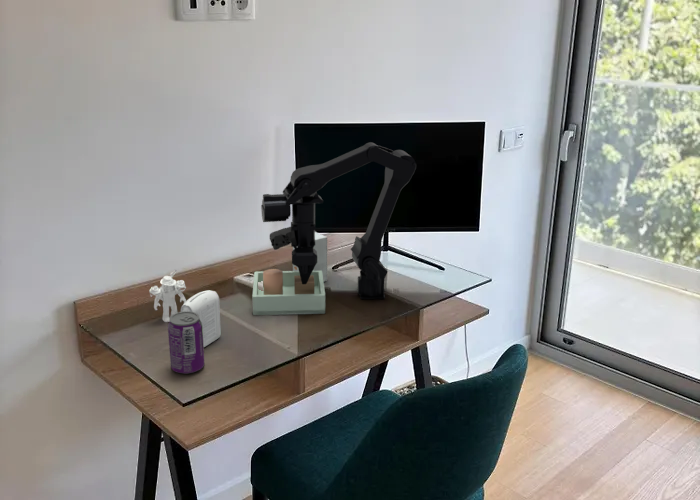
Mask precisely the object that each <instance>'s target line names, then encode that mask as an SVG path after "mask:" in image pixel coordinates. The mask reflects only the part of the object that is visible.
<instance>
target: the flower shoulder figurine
mask: <svg viewBox="0 0 700 500" xmlns="http://www.w3.org/2000/svg"><path fill="white" fill-rule="evenodd" d="M169 273H170V274H169V275H164V276H163V277H162V278H161V279H160V282H159V283H160V284H161V285H160V286H159V287H158V285H155V284H154V286H151V288H150V289H149V295H150V296H149V297H150V298H152V297H153V296H155V297H154V302H153V303H154V304H153V308H154V311H158V310H159V309H158V306H159V307H161V304H160V302H159V301H160V300H161V301H162V309H163V311H162V312H163V313H162V321H163V322H165V323H168V322H170V317H171V316H172V315H173V314H175V313H178V312H179V311H178V306H177V303H176V295H178V297H180V298H179V303H182V302H183V304H184V303H185V302H186V301H187V299H186V297H185V295H184V294H183V292H184V291H185V290H186V289H187V286H186V283H185V281H184V280H183V279H180V280H179V279H178V280H176V279H174V278H173V277H175V276H174V275H176V273H177V269H174V271H172V272H169ZM170 309H171V312H170Z"/></svg>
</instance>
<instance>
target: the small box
mask: <svg viewBox="0 0 700 500" xmlns="http://www.w3.org/2000/svg"><path fill="white" fill-rule="evenodd" d="M294 249H295V248H294V247H292V251H293V250H294ZM314 249H315V250H316V251H317V264H316V265H315V267H314V269H313V271H322V275H323V282H327V281H328V236H326V235H323V234H321V233H319V232H317V231H315V246H314ZM292 271H299V269H298V267H297V266H295V265H293V264H292Z"/></svg>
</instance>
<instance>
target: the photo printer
mask: <svg viewBox="0 0 700 500" xmlns="http://www.w3.org/2000/svg"><path fill="white" fill-rule="evenodd" d="M220 308H221V307H220V296H219V294H218V293H217V291H215V290H212V289H211V290H209V289H208V290H204V291H200V292H197V293H196V294H194V295H192V296H191V297H189V298H188V299H186V302H185V303H184V302H183V304H182V305H181V307H180V312H184V311H190V312H195V313H197V314H198V315H199V317H200V321H201V322H202V330H203V346H204V348H205V347H207V346H209V345H210V344H211V343H213V342H215V341H216V340H217V339H219V338H221V333H222V332H221V309H220Z"/></svg>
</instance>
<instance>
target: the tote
mask: <svg viewBox="0 0 700 500" xmlns="http://www.w3.org/2000/svg"><path fill="white" fill-rule="evenodd" d="M264 271H265V270H264ZM264 271H263V270H262V271H254V275H253V287H252V296H251V297H252V315H253V316H262V315H263V316H270V315H275V316H276V315H278V316H279V315H312V314H313V315H319V314H322V315H323V314H324V315H325V314H326V291H325V289H326V288H325V283H324V282H325V281H324V282H323V275H322V271H312V273H311V275H314V294H295V291H294V276H300V273H299V271H293V270H281V271H282V272H283V295H264V291H261V290H259V289H258V282H261V281H263V272H264Z"/></svg>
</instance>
